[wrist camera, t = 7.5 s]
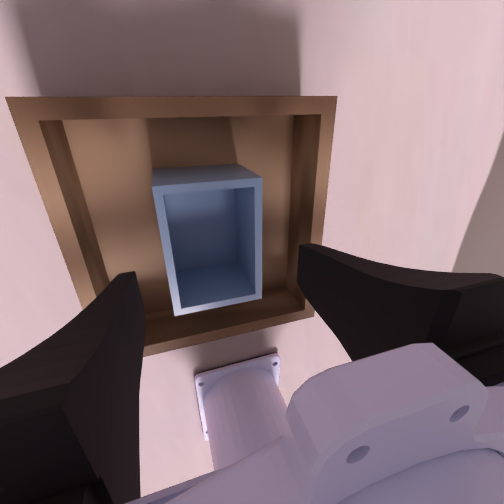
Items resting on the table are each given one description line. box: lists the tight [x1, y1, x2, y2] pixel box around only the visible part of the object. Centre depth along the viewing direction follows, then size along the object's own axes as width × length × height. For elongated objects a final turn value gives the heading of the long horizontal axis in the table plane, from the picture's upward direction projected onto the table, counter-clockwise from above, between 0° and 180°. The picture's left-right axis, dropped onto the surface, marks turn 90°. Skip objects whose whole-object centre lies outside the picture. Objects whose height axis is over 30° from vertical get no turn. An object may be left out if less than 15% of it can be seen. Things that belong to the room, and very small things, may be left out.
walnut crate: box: [5, 96, 337, 357], centre depth 17 cm, size 14×14×4 cm
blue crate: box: [152, 163, 262, 316], centre depth 16 cm, size 7×5×4 cm
